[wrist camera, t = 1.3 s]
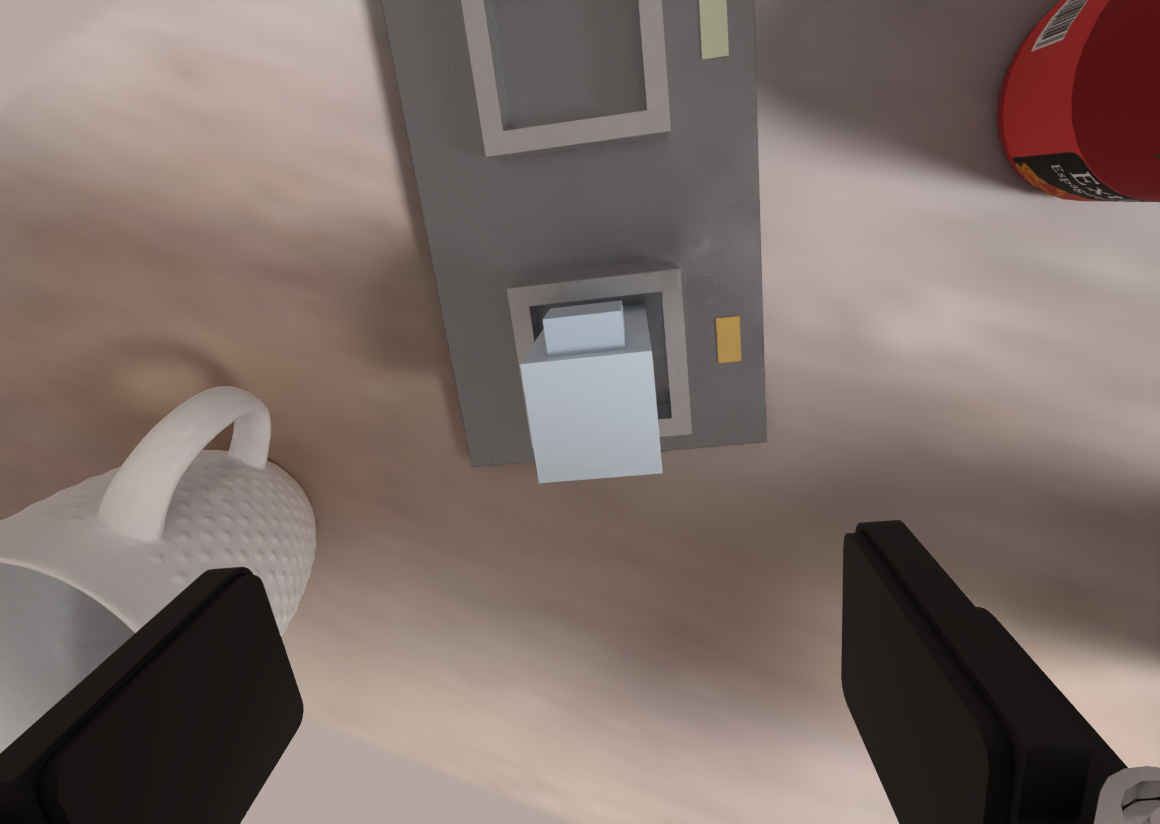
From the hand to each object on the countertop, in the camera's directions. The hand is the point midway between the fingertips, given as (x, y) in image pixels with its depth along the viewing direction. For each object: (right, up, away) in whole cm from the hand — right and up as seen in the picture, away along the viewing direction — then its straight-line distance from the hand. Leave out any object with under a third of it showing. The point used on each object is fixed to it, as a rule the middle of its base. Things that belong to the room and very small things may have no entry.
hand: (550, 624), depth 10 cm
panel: (+1, +12, +17) cm, 21 cm away
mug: (-16, -1, +23) cm, 28 cm away
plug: (+2, +6, +18) cm, 19 cm away
